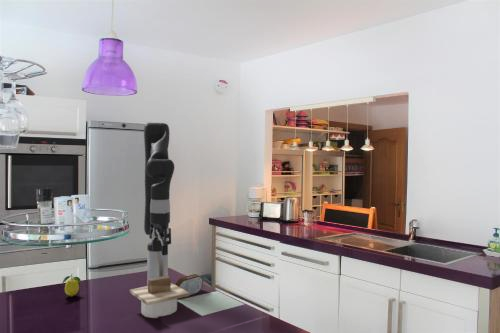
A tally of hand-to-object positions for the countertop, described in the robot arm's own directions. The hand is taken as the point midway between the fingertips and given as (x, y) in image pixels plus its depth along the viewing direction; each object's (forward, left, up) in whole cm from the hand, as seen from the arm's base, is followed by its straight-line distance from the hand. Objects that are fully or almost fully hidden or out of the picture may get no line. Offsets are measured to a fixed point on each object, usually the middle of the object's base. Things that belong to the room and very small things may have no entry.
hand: (159, 252), depth 152 cm
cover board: (0, 0, -16) cm, 16 cm away
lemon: (-37, -23, -23) cm, 49 cm away
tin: (-9, +18, -23) cm, 30 cm away
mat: (+5, +20, -23) cm, 31 cm away
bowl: (0, 0, -23) cm, 23 cm away
